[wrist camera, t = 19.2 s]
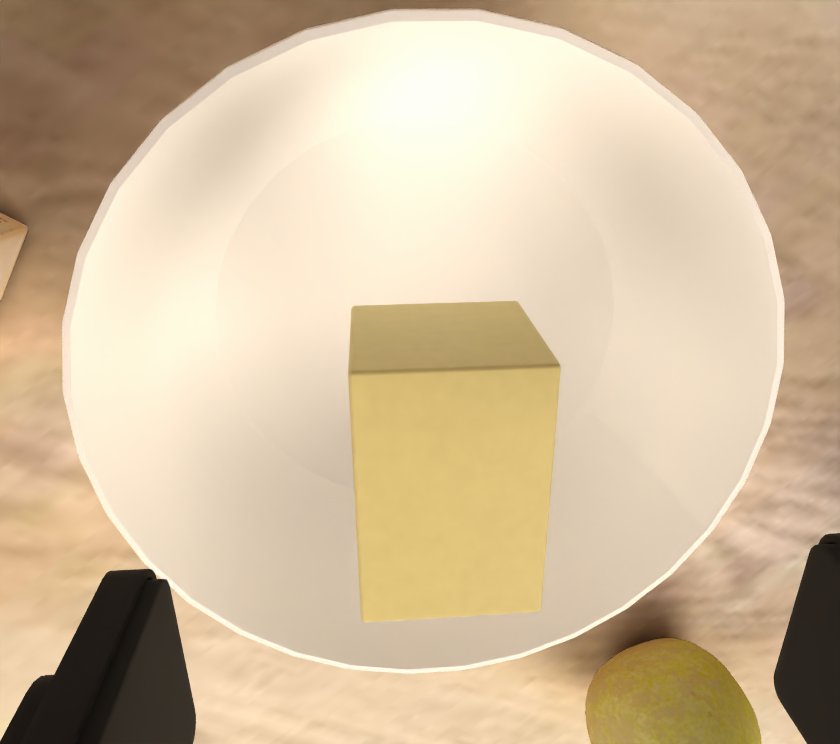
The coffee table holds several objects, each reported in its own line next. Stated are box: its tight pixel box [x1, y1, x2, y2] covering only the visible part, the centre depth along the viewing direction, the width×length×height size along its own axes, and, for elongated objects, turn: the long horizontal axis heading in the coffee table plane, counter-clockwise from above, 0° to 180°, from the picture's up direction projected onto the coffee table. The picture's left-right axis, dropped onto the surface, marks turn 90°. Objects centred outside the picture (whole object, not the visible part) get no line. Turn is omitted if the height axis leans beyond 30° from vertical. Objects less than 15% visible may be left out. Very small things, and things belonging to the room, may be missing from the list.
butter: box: [348, 301, 561, 622], centre depth 16 cm, size 6×4×4 cm, turn 0°
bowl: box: [62, 9, 785, 674], centre depth 21 cm, size 18×18×7 cm
